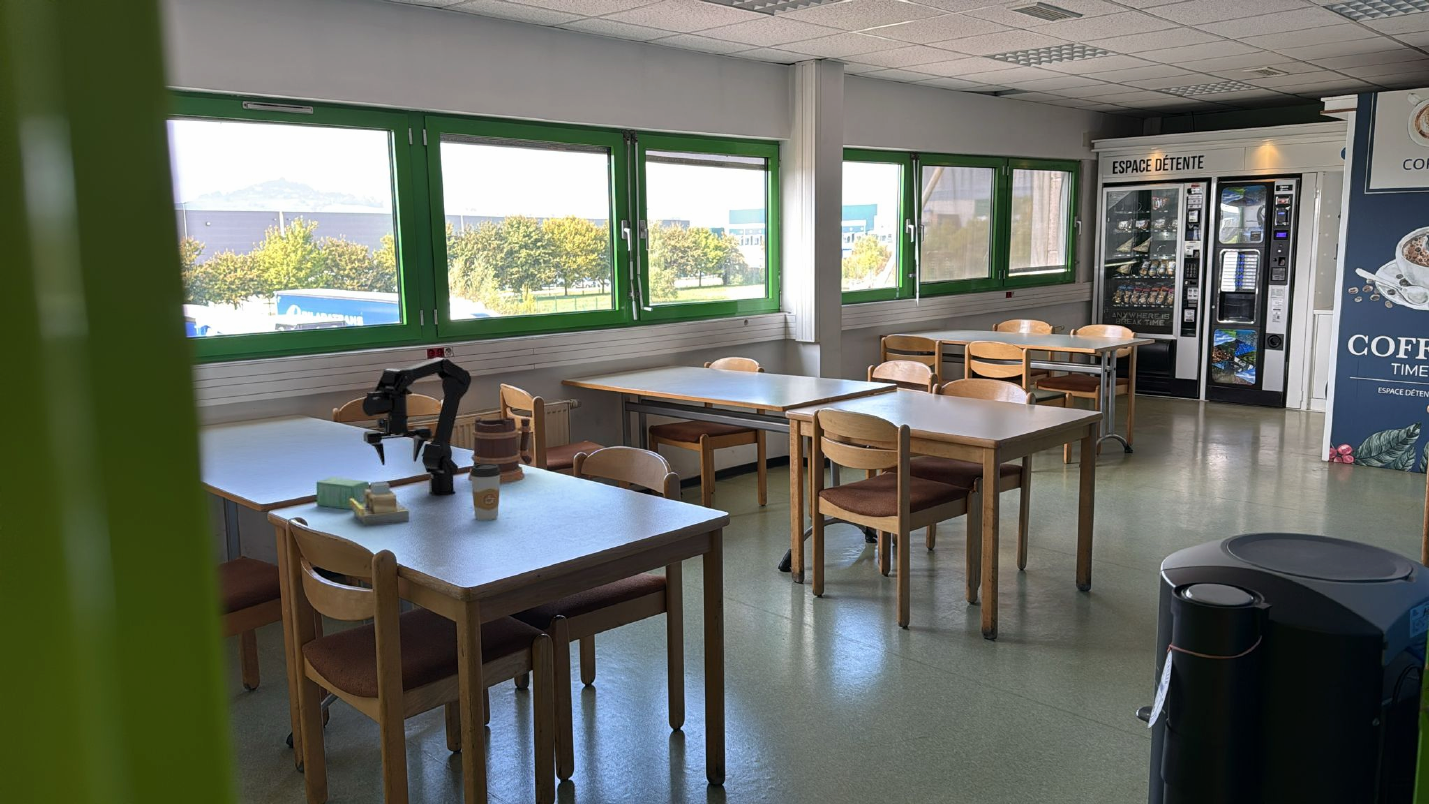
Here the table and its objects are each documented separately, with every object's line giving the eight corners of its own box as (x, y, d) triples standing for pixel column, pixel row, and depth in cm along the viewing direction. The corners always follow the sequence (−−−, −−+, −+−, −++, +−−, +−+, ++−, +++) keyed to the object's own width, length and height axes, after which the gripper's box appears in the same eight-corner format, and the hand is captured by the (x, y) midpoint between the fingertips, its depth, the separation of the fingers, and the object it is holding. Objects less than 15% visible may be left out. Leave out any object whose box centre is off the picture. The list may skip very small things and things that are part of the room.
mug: (546, 476, 351) (545, 417, 348) (485, 486, 336) (484, 425, 333) (517, 467, 364) (516, 410, 361) (457, 476, 349) (456, 417, 346)
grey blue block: (370, 491, 296) (370, 482, 295) (385, 489, 298) (384, 481, 297) (375, 494, 292) (374, 486, 291) (389, 493, 294) (389, 484, 293)
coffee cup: (475, 523, 292) (474, 470, 289) (468, 516, 299) (466, 464, 297) (505, 519, 295) (504, 467, 293) (496, 513, 303) (495, 462, 300)
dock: (396, 510, 305) (395, 493, 304) (409, 521, 293) (408, 503, 292) (350, 515, 298) (349, 498, 297) (361, 527, 286) (360, 509, 286)
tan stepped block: (365, 504, 298) (364, 489, 298) (386, 502, 302) (386, 487, 301) (374, 513, 289) (374, 497, 288) (396, 510, 292) (396, 495, 292)
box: (354, 510, 304) (353, 485, 303) (316, 506, 309) (315, 481, 308) (370, 504, 311) (369, 480, 310) (333, 500, 316) (332, 476, 315)
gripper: (420, 405, 319) (422, 455, 322) (357, 410, 310) (360, 461, 312) (431, 410, 310) (433, 461, 312) (366, 415, 300) (369, 468, 303)
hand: (399, 463), depth 310 cm, fingers open, 9 cm apart
